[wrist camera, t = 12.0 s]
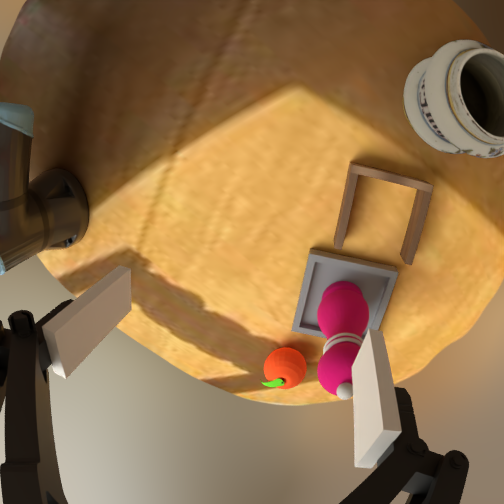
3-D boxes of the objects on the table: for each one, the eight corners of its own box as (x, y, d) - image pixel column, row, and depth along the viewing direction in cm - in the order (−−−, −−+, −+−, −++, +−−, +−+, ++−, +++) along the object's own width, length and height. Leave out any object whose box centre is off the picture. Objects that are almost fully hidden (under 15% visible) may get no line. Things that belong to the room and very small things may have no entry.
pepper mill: (375, 300, 45) (395, 396, 27) (340, 328, 48) (339, 428, 30) (344, 267, 45) (351, 357, 26) (308, 298, 47) (293, 394, 29)
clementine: (275, 376, 55) (268, 404, 49) (255, 348, 54) (245, 376, 47) (315, 362, 52) (312, 391, 46) (296, 333, 51) (291, 360, 45)
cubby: (333, 239, 44) (334, 248, 41) (349, 162, 40) (351, 164, 37) (406, 255, 43) (411, 265, 39) (425, 181, 38) (433, 185, 35)
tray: (292, 323, 51) (291, 330, 49) (310, 248, 46) (309, 253, 44) (370, 339, 49) (371, 346, 47) (395, 266, 44) (398, 272, 42)
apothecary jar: (430, 48, 32) (486, 7, 15) (487, 115, 33) (563, 114, 16) (375, 101, 36) (410, 80, 20) (435, 168, 37) (498, 193, 21)
